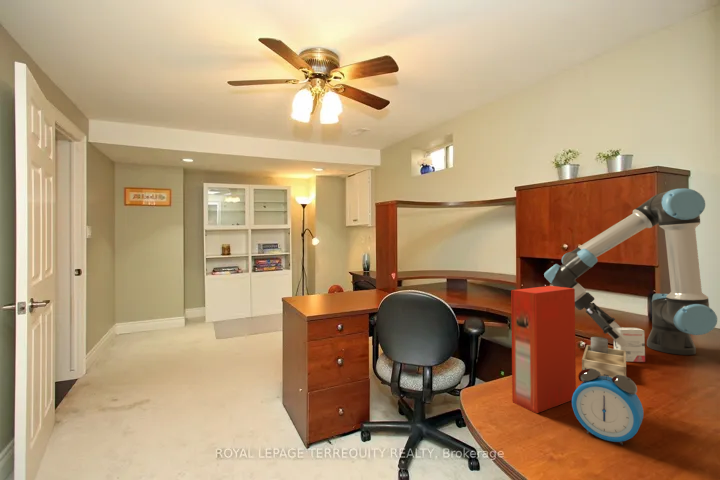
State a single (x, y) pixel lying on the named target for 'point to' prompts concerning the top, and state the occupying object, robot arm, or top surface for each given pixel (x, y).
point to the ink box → (632, 343)
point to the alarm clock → (607, 405)
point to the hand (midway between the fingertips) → (625, 340)
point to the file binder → (543, 347)
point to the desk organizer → (604, 358)
